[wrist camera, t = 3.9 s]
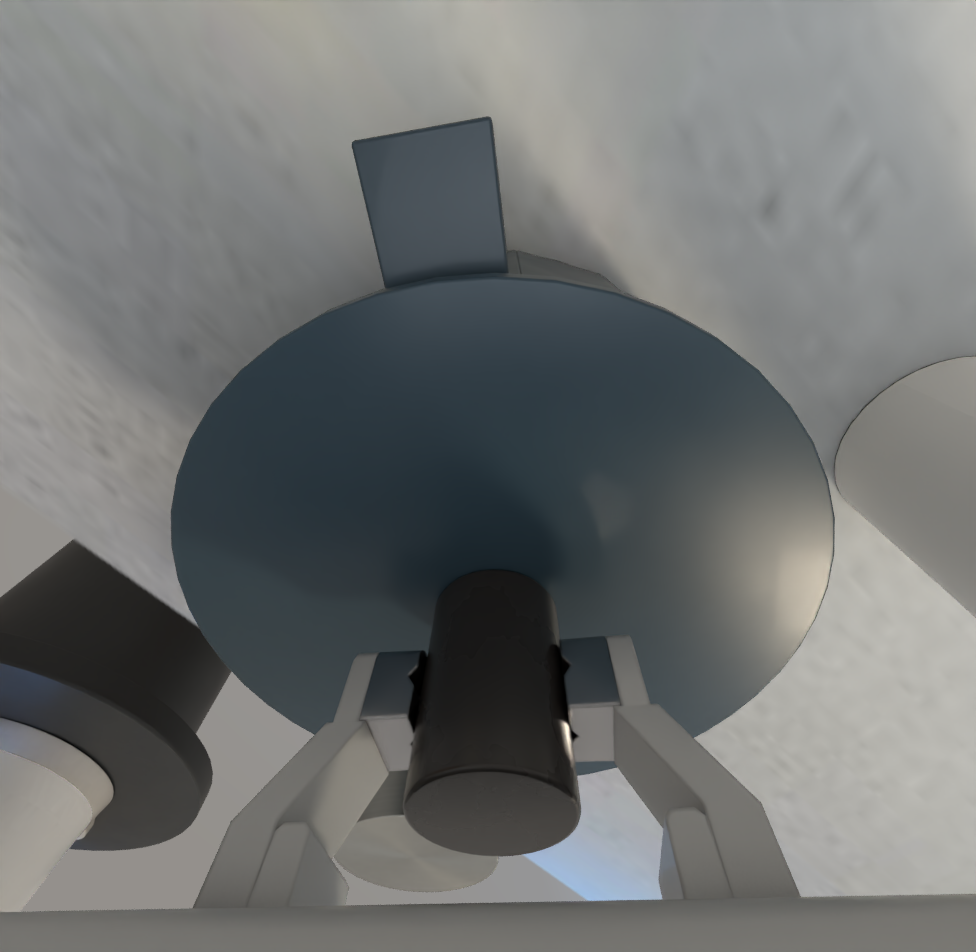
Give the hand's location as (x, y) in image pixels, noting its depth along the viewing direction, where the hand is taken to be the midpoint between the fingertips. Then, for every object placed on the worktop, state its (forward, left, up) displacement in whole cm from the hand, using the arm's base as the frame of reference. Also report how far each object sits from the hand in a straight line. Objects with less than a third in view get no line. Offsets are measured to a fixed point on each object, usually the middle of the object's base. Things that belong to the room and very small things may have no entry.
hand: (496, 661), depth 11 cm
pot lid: (0, 0, -2) cm, 2 cm away
